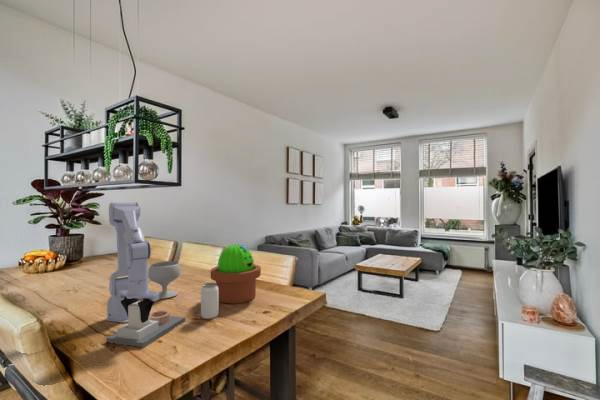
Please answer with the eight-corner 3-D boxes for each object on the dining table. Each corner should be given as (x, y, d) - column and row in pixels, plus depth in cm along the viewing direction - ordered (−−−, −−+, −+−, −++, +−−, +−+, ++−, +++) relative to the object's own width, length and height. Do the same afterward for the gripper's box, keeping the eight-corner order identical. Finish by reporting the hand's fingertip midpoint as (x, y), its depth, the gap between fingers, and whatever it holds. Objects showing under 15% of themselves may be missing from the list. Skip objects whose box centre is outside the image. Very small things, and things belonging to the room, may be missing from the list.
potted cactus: (200, 301, 130) (200, 245, 130) (233, 287, 149) (233, 239, 149) (239, 309, 119) (239, 248, 119) (269, 294, 139) (269, 241, 139)
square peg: (128, 330, 94) (128, 305, 94) (138, 324, 98) (138, 300, 98) (139, 331, 93) (139, 306, 93) (149, 325, 97) (149, 301, 97)
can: (212, 311, 117) (212, 281, 117) (221, 315, 113) (221, 284, 113) (197, 316, 112) (197, 285, 112) (207, 320, 108) (207, 288, 108)
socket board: (106, 342, 92) (106, 329, 92) (153, 317, 111) (153, 307, 111) (143, 348, 88) (143, 334, 88) (185, 321, 108) (185, 310, 108)
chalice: (186, 293, 139) (186, 262, 139) (160, 302, 127) (159, 268, 127) (168, 289, 146) (168, 259, 146) (141, 297, 134) (141, 265, 134)
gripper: (109, 281, 93) (109, 323, 93) (147, 284, 90) (147, 328, 90) (128, 275, 100) (128, 314, 100) (163, 278, 96) (163, 319, 96)
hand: (138, 320), depth 95 cm, fingers closed on square peg, 4 cm apart
